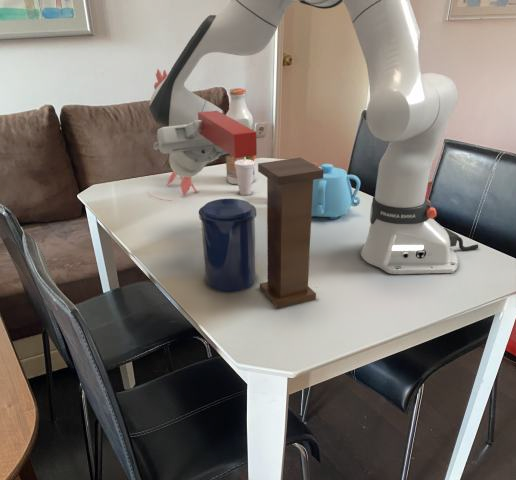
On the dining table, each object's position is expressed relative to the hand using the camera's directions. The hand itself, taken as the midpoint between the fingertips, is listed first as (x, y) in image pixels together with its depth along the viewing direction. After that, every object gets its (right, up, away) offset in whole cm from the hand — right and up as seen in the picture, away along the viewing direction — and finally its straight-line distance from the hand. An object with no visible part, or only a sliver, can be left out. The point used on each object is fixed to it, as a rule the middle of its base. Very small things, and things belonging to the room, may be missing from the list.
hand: (213, 122), depth 101 cm
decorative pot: (+28, -6, +46) cm, 54 cm away
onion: (+27, +7, +63) cm, 69 cm away
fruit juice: (+3, +11, +70) cm, 71 cm away
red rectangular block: (+3, -6, -4) cm, 7 cm away
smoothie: (+5, +4, +60) cm, 60 cm away
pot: (+3, -30, +13) cm, 33 cm away
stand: (+15, -34, +7) cm, 38 cm away
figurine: (-19, +5, +62) cm, 65 cm away
